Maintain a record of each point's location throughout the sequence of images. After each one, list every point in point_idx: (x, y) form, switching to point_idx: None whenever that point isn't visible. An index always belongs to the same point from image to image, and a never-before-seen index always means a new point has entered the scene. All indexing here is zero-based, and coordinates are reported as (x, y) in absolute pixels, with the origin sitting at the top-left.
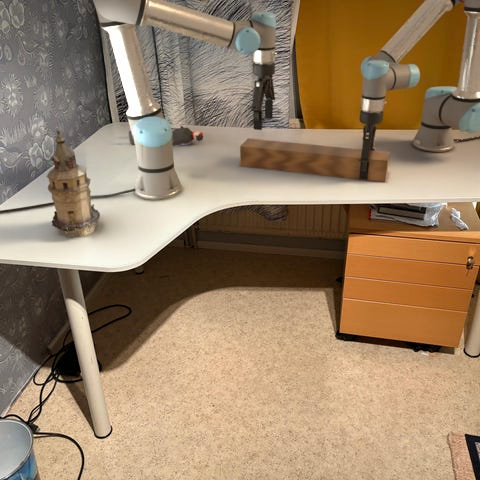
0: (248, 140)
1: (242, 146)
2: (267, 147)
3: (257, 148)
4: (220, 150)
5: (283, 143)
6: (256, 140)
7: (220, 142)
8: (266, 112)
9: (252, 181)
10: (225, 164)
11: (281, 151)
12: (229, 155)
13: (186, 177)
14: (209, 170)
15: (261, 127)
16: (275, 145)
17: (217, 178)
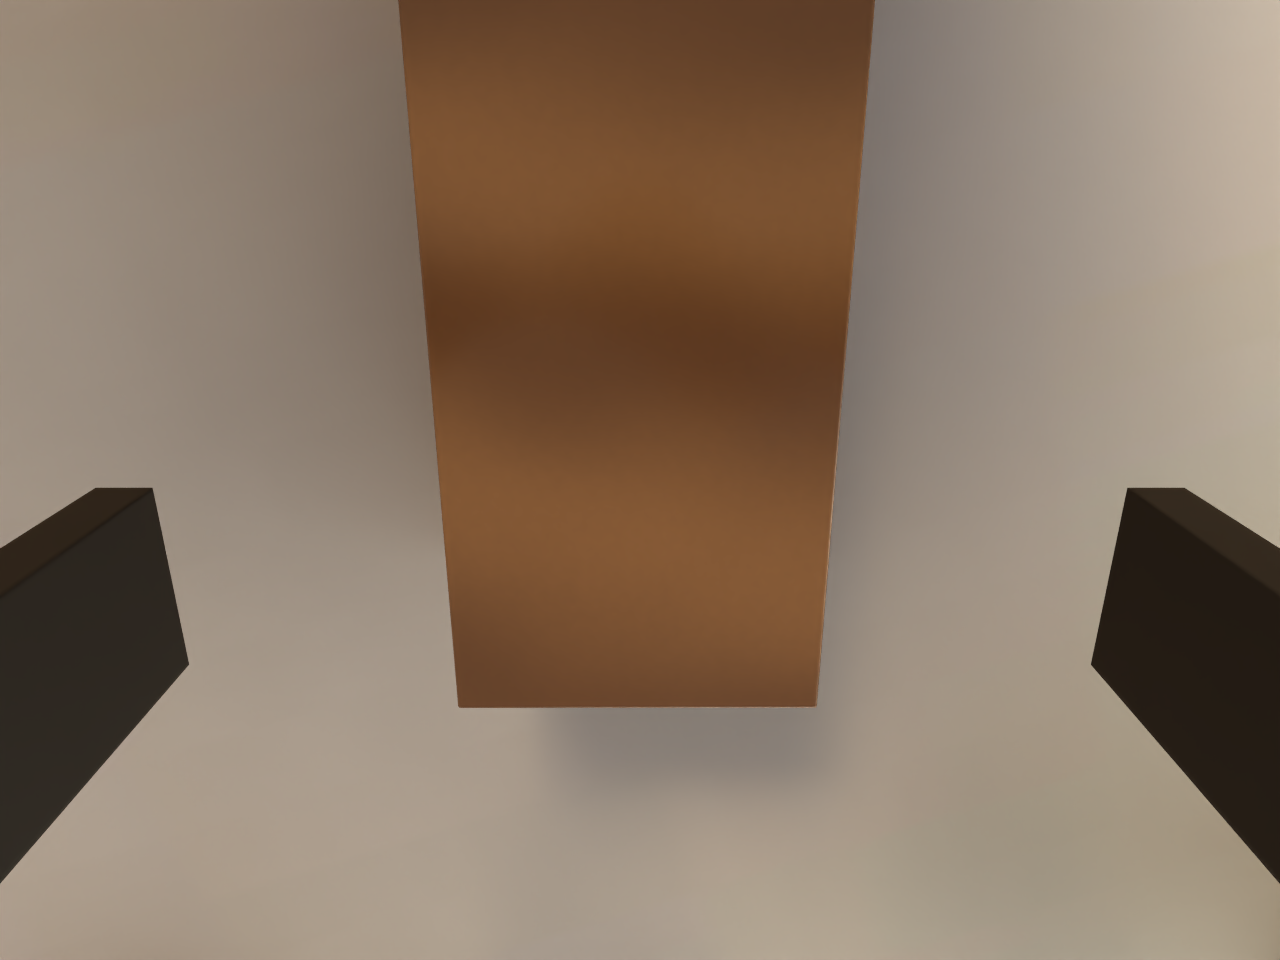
0: (546, 672)
1: (817, 675)
2: (787, 304)
3: (836, 452)
4: (398, 875)
5: (496, 71)
6: (508, 566)
7: (178, 942)
8: (92, 724)
9: (1209, 304)
10: (767, 718)
11: (868, 7)
12: (503, 759)
13: (1161, 912)
14: (960, 799)
15: (1202, 512)
16: (651, 193)
17: None
